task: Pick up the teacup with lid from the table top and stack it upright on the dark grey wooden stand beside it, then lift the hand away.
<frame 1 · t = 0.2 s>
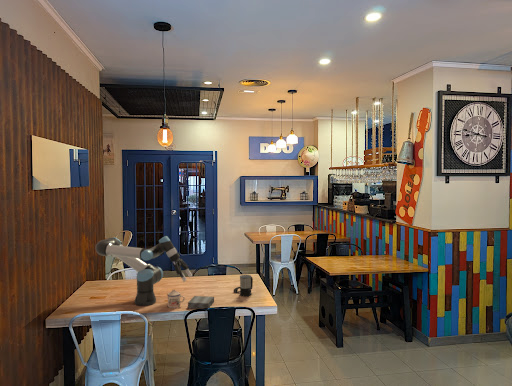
hand: (188, 278, 281), 15 cm above the table, tool tilted 35°, fingers open, 13 cm apart
teacup with lid: (176, 306, 266), on the table
grey stand: (201, 305, 268), on the table
milk frother: (242, 294, 294), on the table
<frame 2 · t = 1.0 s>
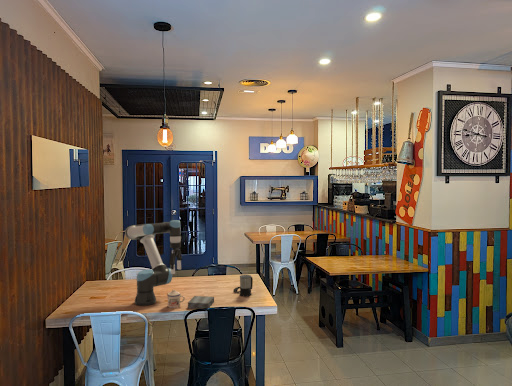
hand: (176, 271, 266), 25 cm above the table, tool pointing down, fingers open, 13 cm apart
nothing on the table moved.
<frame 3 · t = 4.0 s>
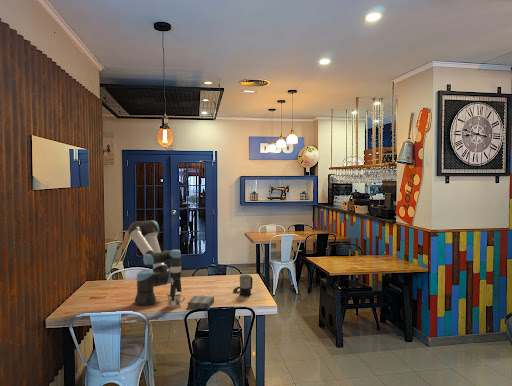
hand: (176, 303, 266), 2 cm above the table, tool pointing down, fingers closed on teacup with lid, 9 cm apart
teacup with lid: (176, 306, 267), on the table, touching gripper
everything else where it was.
when the fingers open (7 cm above the table, at t = 12.0 s): teacup with lid drops 1 cm, resting on grey stand.
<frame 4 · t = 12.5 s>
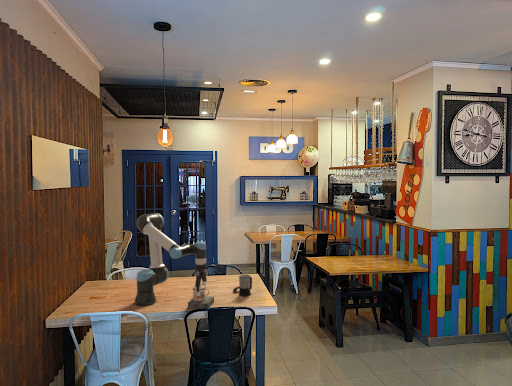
hand: (201, 293, 267), 9 cm above the table, tool pointing down, fingers open, 13 cm apart
teacup with lid: (201, 299, 268), point 4 cm above the table, touching grey stand
everything else where it was.
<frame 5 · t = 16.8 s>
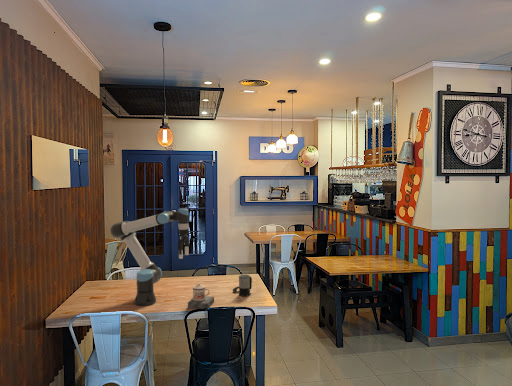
hand: (183, 256, 283), 32 cm above the table, tool pointing down, fingers open, 13 cm apart
nothing on the table moved.
at the end: teacup with lid inside the target area on the grey stand (0.4 cm from its centre), point 3.8 cm above the grey stand's base; teacup with lid tilted 0°; the gripper is holding nothing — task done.
